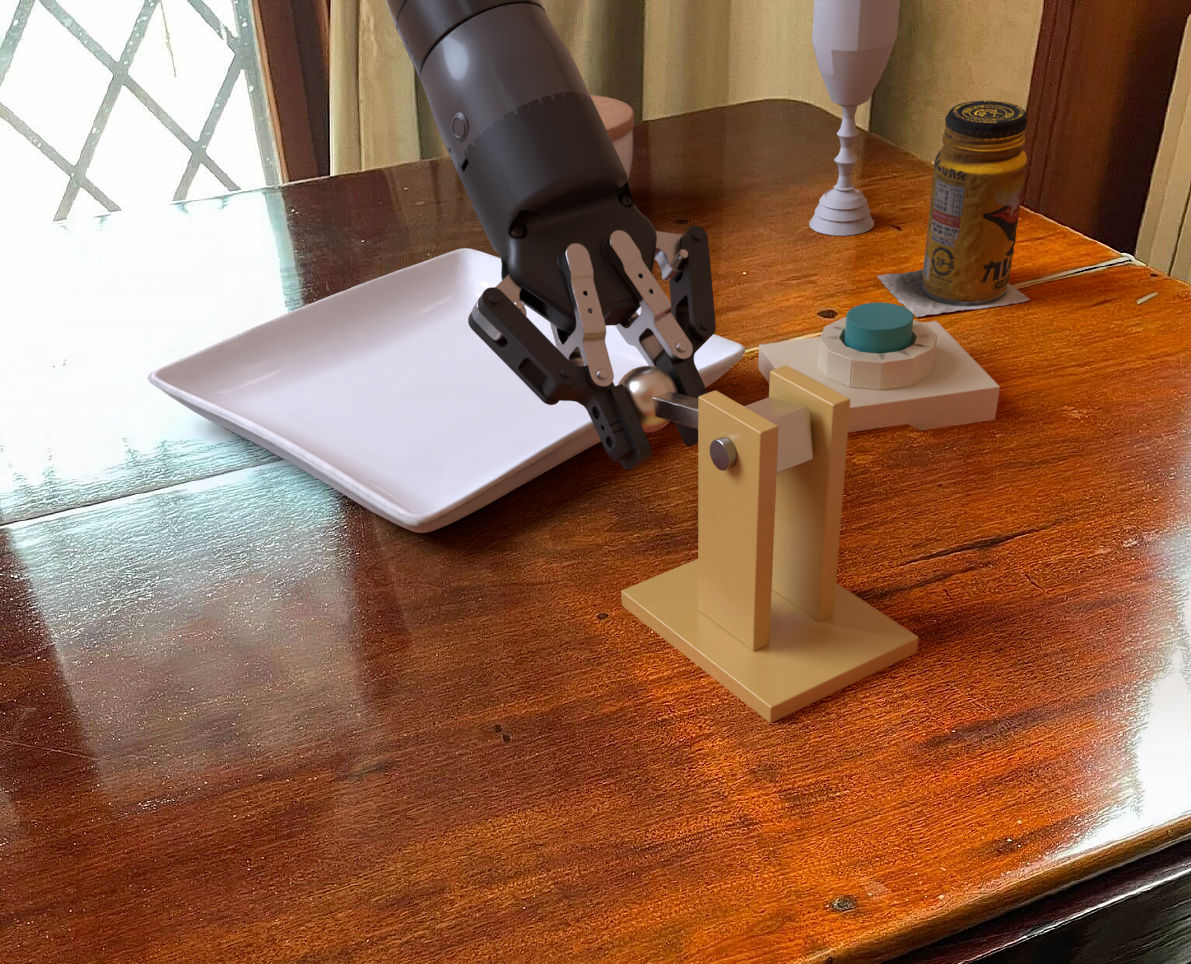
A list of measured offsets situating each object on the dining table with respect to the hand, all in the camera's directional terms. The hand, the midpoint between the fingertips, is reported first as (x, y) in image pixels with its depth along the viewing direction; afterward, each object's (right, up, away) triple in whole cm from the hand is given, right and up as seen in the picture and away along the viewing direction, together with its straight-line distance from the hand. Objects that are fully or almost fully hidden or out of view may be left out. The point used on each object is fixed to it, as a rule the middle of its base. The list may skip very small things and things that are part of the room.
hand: (669, 449), depth 70 cm
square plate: (-13, +7, +20) cm, 25 cm away
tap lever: (+2, -1, -3) cm, 3 cm away
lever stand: (+5, -9, 0) cm, 11 cm away
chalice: (+16, +28, +41) cm, 52 cm away
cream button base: (+14, +8, +18) cm, 24 cm away
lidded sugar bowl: (-6, +30, +45) cm, 54 cm away
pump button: (+14, +10, +16) cm, 23 cm away
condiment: (+22, +18, +30) cm, 42 cm away
